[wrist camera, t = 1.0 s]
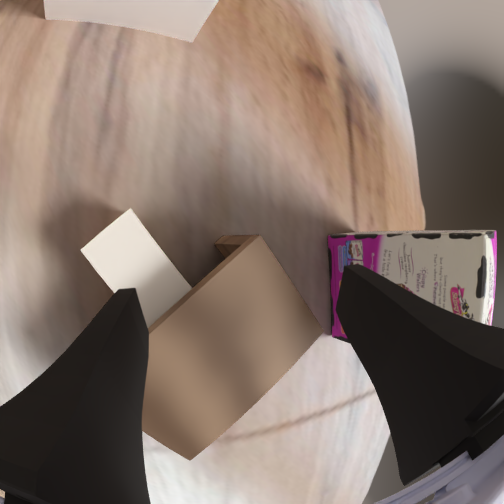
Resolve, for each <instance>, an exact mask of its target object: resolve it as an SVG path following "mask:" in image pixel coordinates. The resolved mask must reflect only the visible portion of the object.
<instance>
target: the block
mask: <svg viewBox="0 0 504 504" xmlns="http://www.w3.org/2000/svg"><path fill="white" fill-rule="evenodd" d="M81 252H82V253H83V254H84V256H85V257H86V258H87V260H88V261H89V262H90V263H91V265H92V266H93V267H94V269H95V270H96V271H97V272H98V274H99V275H100V276H101V277H102V279H103V280H104V281H105V282H106V284H107V285H108V286H109V287H110V288H111V290H112V291H113V292H114V293H115V292H116V291H117V290H118V289H125V288H136V292H137V295H138V298H139V302H140V305H141V309H142V312H143V315H144V318H145V321H146V325H147V328H149V327H150V326H151V325H152V324H153V323H154V322H155V321H156V320H158V319H159V318H160V317H161V316H162V315H163V314H164V313H165V312H166V311H168V310H169V309H170V308H171V307H172V306H173V305H174V304H175V303H176V302H178V301H179V300H180V299H181V298H182V297H183V296H184V295H185V294H187V293H188V292H189V291H190V290H191V289H192V287H191V286H190V285H189V284H188V282H187V281H186V280H185V279H184V277H183V276H182V275H181V274H180V272H179V271H178V270H177V269H176V267H175V266H174V265H173V264H172V262H171V261H170V260H169V259H168V257H167V256H166V255H165V253H164V252H163V251H162V250H161V248H160V247H159V246H158V244H157V243H156V242H155V240H154V239H153V238H152V236H151V235H150V234H149V232H148V231H147V230H146V228H145V227H144V226H143V224H142V223H141V222H140V220H139V219H138V218H137V216H136V215H135V213H134V212H133V211H132V209H131V208H130V209H129V210H127V211H126V212H125V213H124V214H122V215H121V216H120V217H119V218H117V219H116V220H115V221H114V222H112V223H111V224H110V225H109V226H108V227H106V228H105V229H104V230H103V231H102V232H101V233H99V234H98V235H97V236H96V237H95V238H94V239H92V240H91V241H90V242H89V243H88V244H87V245H86V246H84V247H83V248H82V249H81Z"/></svg>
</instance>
